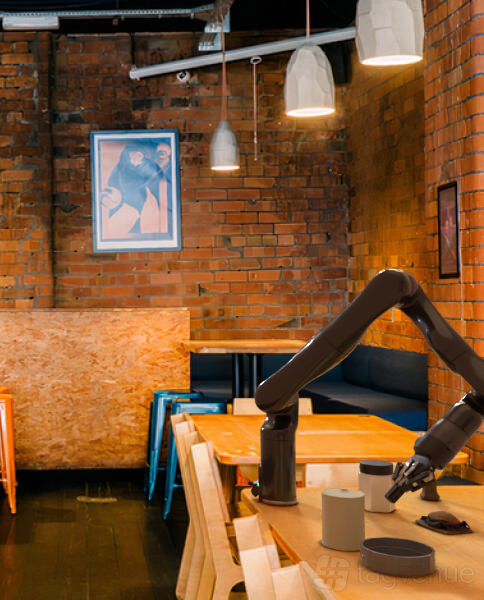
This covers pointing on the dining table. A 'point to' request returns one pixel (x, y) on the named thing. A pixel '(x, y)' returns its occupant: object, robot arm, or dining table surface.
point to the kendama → (431, 489)
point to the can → (343, 518)
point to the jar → (376, 484)
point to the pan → (397, 556)
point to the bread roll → (444, 523)
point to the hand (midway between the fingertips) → (388, 500)
